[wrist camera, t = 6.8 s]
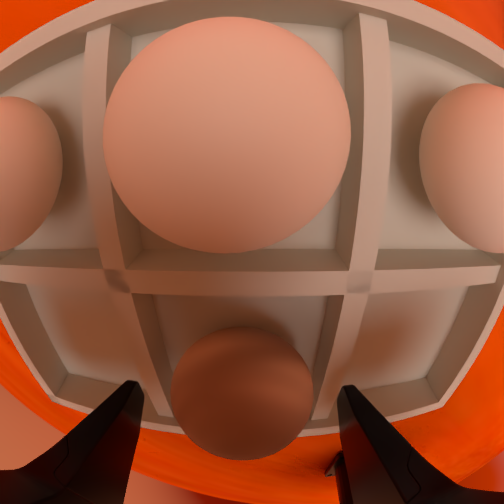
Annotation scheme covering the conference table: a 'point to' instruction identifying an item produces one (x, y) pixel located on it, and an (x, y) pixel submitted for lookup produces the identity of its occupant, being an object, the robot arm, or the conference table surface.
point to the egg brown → (242, 393)
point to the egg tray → (267, 258)
